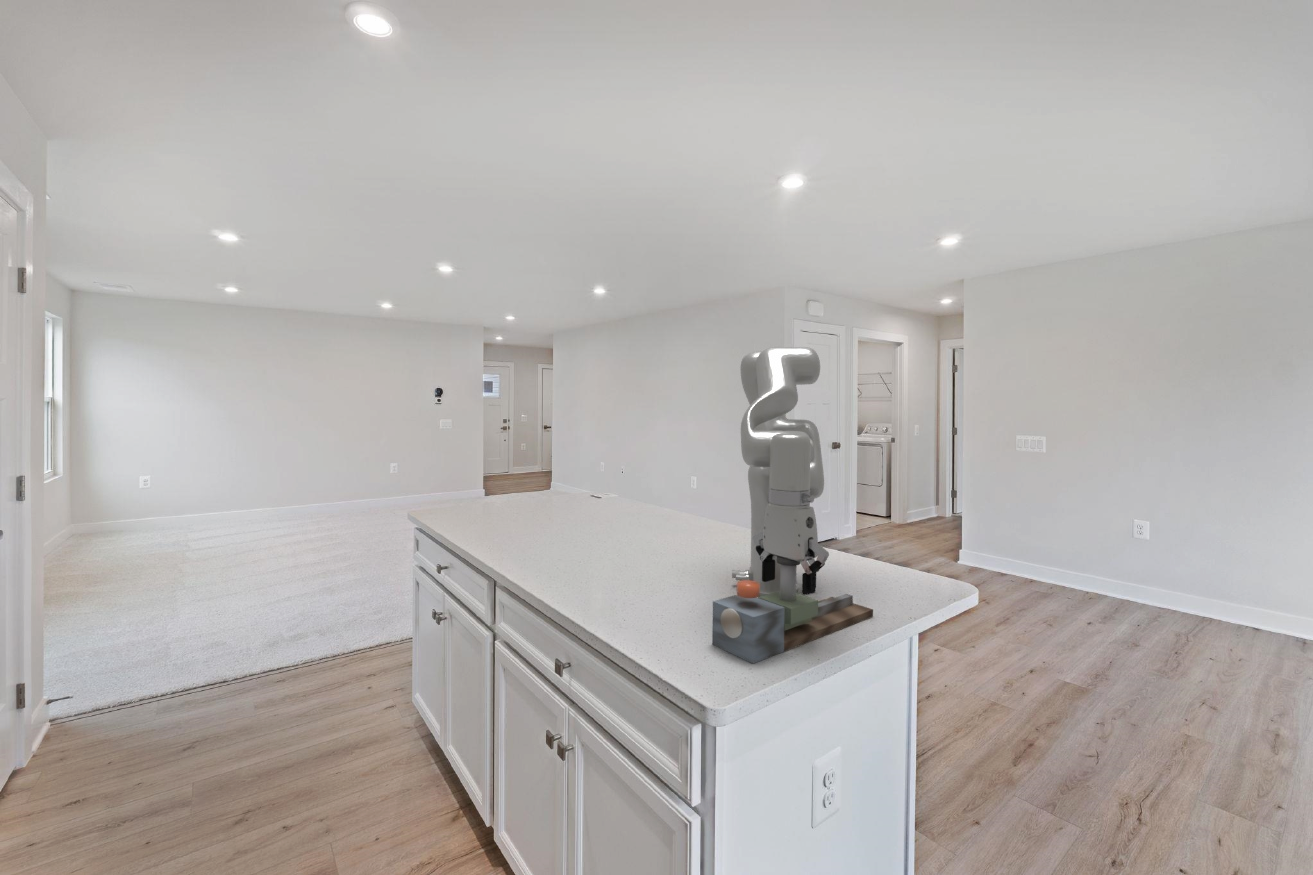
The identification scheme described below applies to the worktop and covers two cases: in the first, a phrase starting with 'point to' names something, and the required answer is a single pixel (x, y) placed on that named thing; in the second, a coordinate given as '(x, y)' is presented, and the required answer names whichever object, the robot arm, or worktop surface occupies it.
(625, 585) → the worktop surface
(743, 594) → the button
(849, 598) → the rail stand
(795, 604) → the block
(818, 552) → the robot arm
